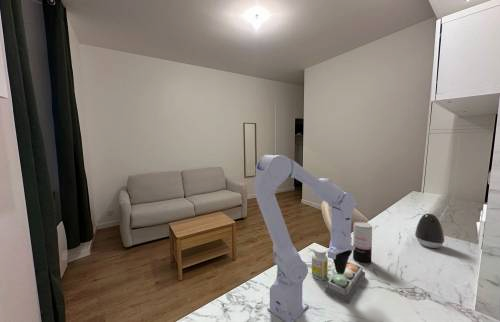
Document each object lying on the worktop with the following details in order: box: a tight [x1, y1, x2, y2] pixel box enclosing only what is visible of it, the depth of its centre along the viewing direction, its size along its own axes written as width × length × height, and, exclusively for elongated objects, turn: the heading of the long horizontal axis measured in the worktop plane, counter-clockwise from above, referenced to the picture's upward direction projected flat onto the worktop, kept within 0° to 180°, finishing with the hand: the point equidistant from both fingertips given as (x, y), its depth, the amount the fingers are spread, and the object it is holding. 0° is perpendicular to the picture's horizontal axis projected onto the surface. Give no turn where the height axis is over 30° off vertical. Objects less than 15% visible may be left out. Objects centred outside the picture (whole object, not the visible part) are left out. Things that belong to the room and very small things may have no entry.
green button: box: [332, 273, 347, 287], centre depth 62 cm, size 4×4×2 cm
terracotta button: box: [346, 263, 358, 273], centre depth 70 cm, size 4×4×2 cm
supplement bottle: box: [311, 246, 329, 281], centre depth 71 cm, size 5×5×10 cm
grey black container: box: [352, 221, 373, 265], centre depth 81 cm, size 6×6×15 cm
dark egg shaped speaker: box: [414, 213, 445, 249], centre depth 93 cm, size 10×10×15 cm
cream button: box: [340, 268, 353, 279], centre depth 66 cm, size 4×4×2 cm
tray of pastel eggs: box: [324, 261, 366, 305], centre depth 66 cm, size 17×7×4 cm, turn 136°
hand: (340, 272), depth 62 cm, fingers closed
